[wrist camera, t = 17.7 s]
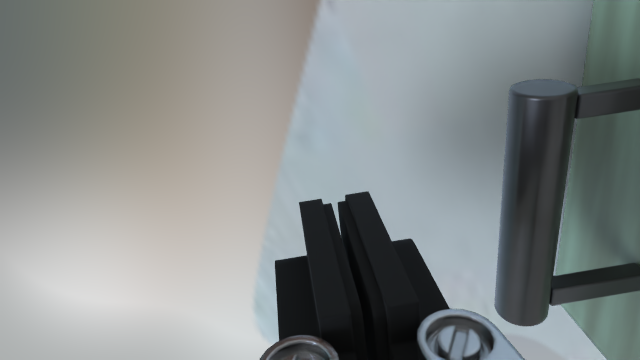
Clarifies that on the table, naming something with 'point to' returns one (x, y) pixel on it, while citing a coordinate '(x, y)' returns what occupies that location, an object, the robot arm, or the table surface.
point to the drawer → (577, 192)
